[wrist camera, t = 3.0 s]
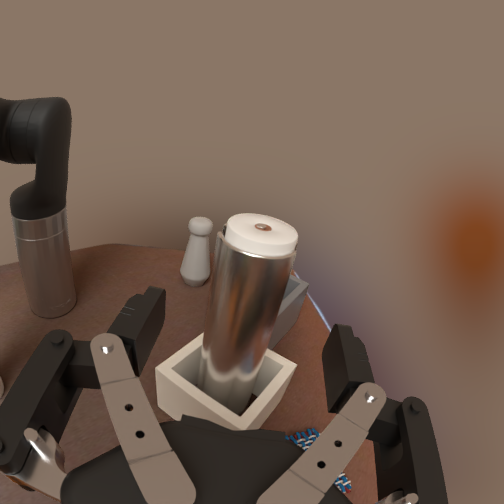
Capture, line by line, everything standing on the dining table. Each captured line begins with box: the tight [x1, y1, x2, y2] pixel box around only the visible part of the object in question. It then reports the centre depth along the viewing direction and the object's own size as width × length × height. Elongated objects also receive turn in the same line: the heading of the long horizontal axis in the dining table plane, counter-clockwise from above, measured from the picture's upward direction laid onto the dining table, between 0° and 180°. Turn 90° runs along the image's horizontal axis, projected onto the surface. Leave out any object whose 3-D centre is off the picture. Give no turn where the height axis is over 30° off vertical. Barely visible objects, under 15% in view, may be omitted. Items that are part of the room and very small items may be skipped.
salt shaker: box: [180, 217, 213, 287], centre depth 56 cm, size 6×6×13 cm
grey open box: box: [267, 275, 309, 350], centre depth 49 cm, size 11×11×8 cm
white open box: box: [155, 332, 297, 431], centre depth 33 cm, size 11×11×8 cm
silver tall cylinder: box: [197, 213, 298, 417], centre depth 29 cm, size 6×6×25 cm
